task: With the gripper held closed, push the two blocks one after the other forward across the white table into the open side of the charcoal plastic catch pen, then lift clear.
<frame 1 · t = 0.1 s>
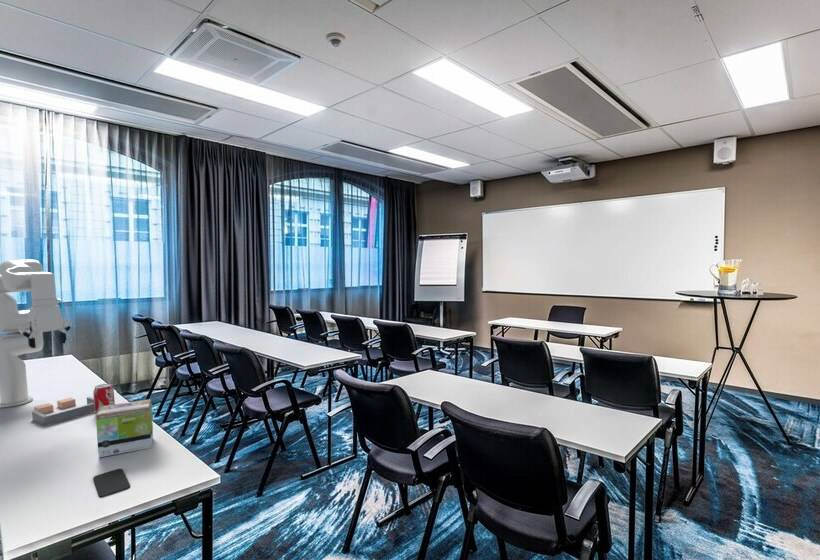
hand: (48, 345, 171), 31 cm above the table, tool pointing down, fingers open, 9 cm apart
light orange-brown block 1: (44, 412, 184), on the table
soda can: (105, 413, 180), on the table
catch pen: (68, 414, 180), on the table
tea box: (127, 448, 146), on the table
phone: (111, 484, 123), on the table
peach rectangular block 2: (66, 406, 191), on the table
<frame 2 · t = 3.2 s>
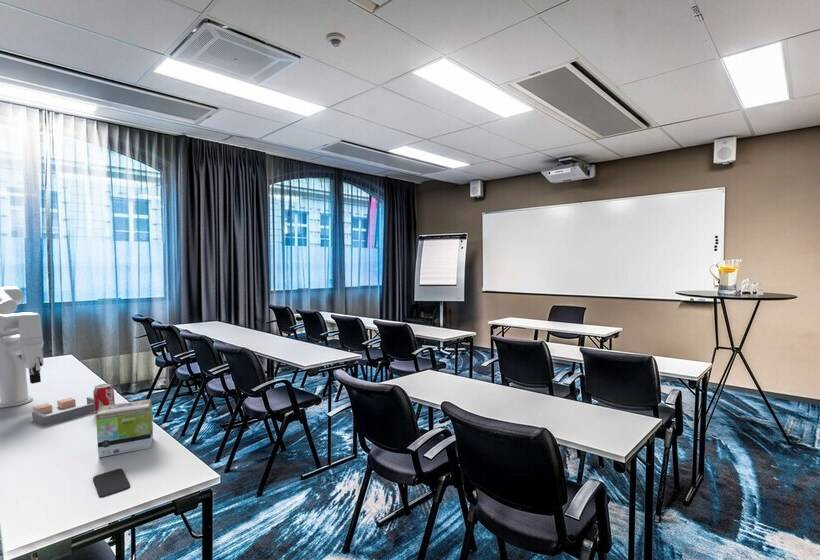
hand: (35, 382, 187), 12 cm above the table, tool pointing down, fingers closed
nothing on the table moved.
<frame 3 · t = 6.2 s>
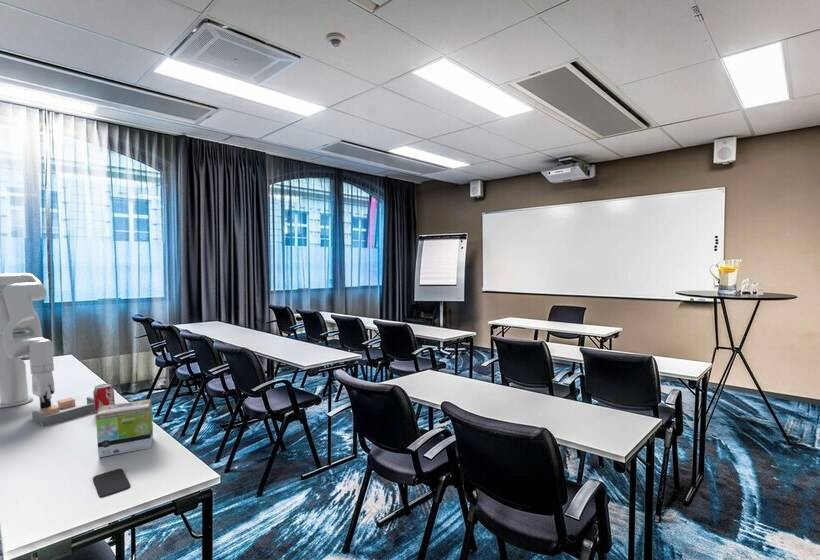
hand: (46, 410, 183), 1 cm above the table, tool pointing down, fingers closed
light orange-brown block 1: (50, 415, 180), on the table, touching gripper
everything else where it was.
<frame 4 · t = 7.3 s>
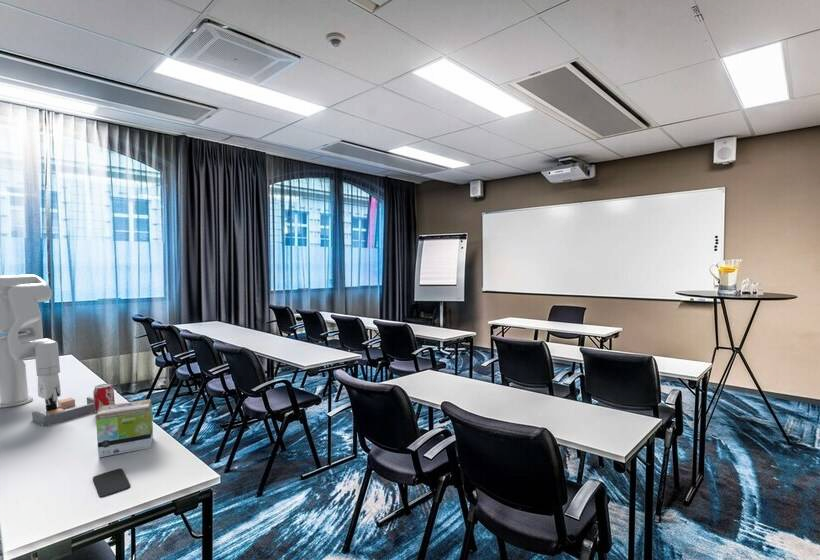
hand: (52, 413, 179), 1 cm above the table, tool pointing down, fingers closed
light orange-brown block 1: (56, 418, 177), on the table, touching gripper
everything else where it was.
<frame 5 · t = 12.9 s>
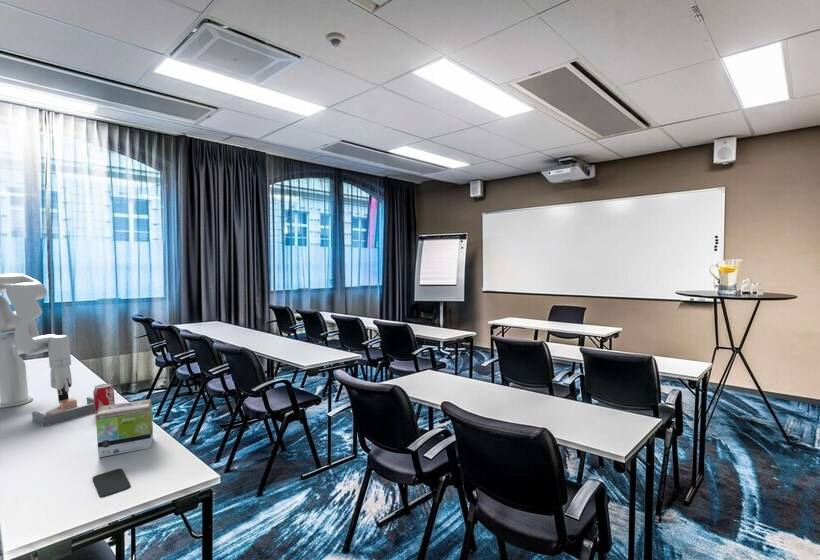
hand: (63, 402, 192), 1 cm above the table, tool pointing down, fingers closed
light orange-brown block 1: (57, 418, 177), on the table
peach rectangular block 2: (68, 407, 190), on the table
everything else where it was.
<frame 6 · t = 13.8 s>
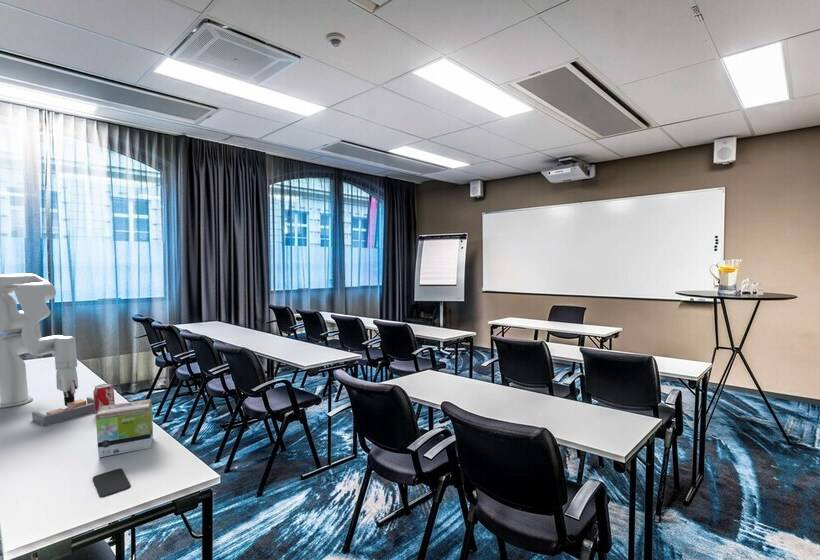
hand: (69, 404, 189), 1 cm above the table, tool pointing down, fingers closed
peach rectangular block 2: (77, 408, 188), on the table, touching gripper
everything else where it was.
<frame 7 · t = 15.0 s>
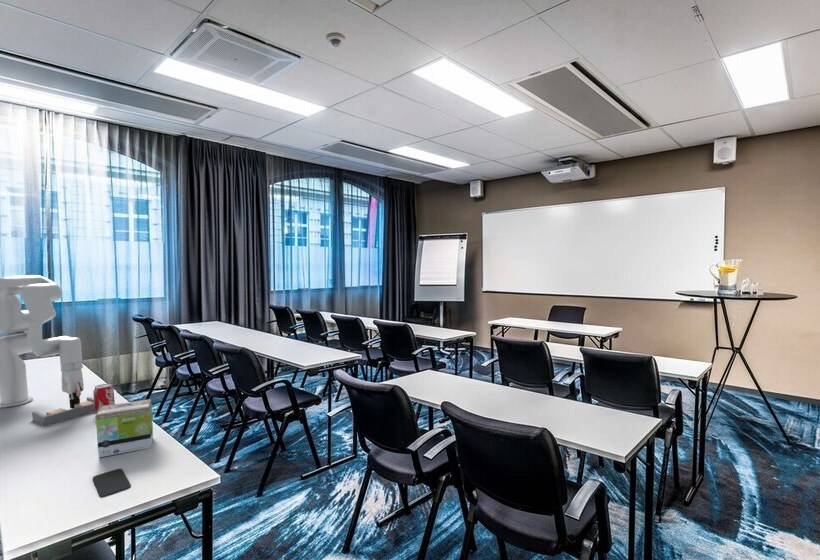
hand: (75, 407, 186), 1 cm above the table, tool pointing down, fingers closed
peach rectangular block 2: (84, 410, 185), on the table
everything else where it was.
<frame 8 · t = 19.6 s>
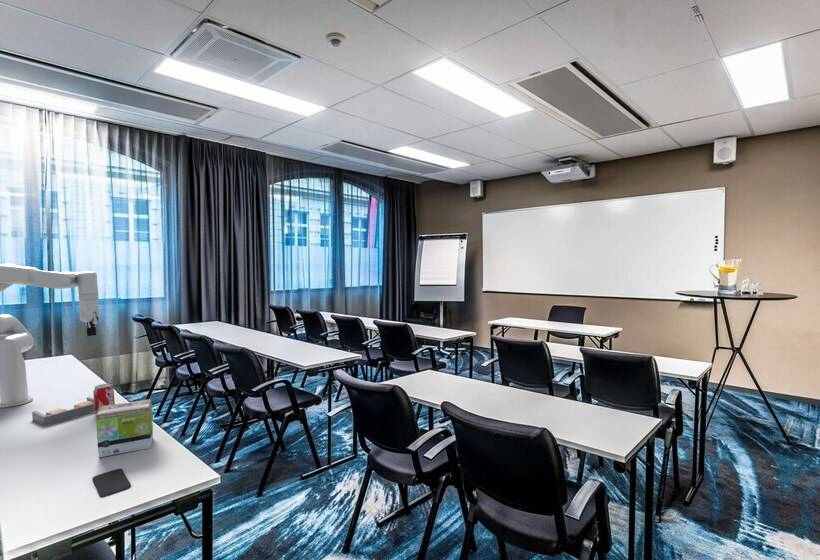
hand: (91, 335, 204), 29 cm above the table, tool pointing down, fingers closed
nothing on the table moved.
at the end: light orange-brown block 1 inside the target area on the catch pen (4.0 cm from its centre), point 0.0 cm above the catch pen's base; peach rectangular block 2 inside the target area on the catch pen (5.9 cm from its centre), point 0.0 cm above the catch pen's base; light orange-brown block 1 moved 13.4 cm from its start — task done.
